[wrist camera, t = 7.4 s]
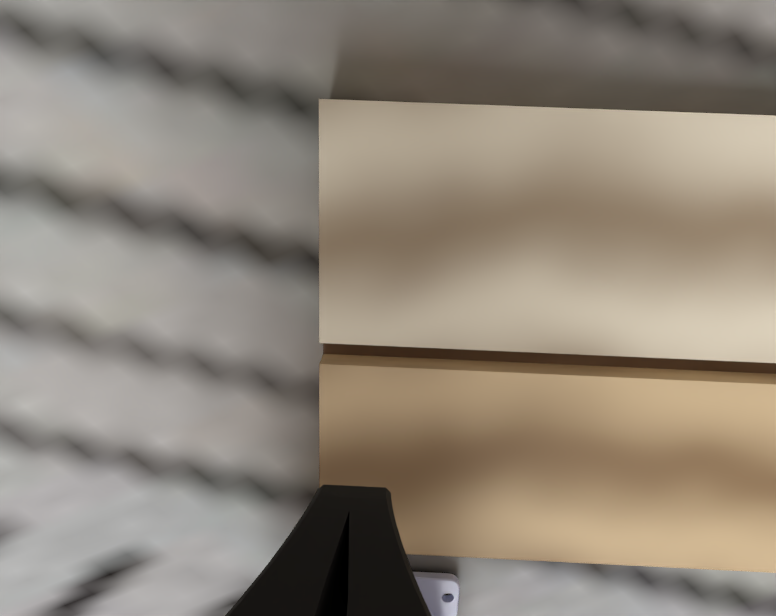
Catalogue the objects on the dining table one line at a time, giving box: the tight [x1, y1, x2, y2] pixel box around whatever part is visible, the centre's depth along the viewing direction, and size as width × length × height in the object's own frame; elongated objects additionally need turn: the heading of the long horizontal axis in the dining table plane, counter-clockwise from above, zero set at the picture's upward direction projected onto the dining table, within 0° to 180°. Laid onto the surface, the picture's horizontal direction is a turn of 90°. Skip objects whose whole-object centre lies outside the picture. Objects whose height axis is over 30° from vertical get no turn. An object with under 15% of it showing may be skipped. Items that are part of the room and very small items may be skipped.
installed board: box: [319, 343, 776, 573], centre depth 20 cm, size 9×24×2 cm, turn 88°
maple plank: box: [319, 99, 776, 363], centre depth 18 cm, size 8×24×2 cm, turn 88°
